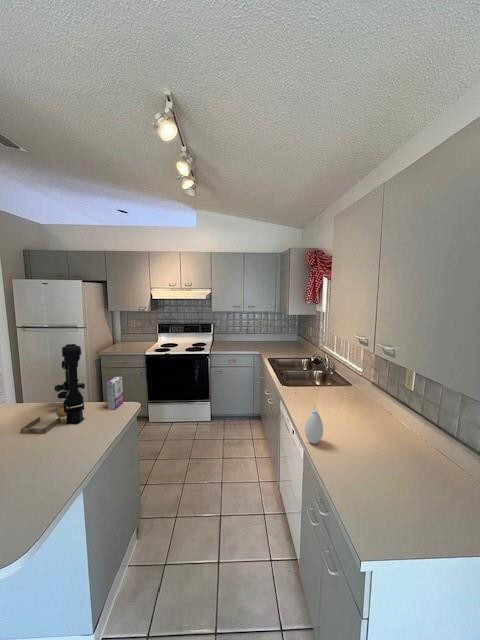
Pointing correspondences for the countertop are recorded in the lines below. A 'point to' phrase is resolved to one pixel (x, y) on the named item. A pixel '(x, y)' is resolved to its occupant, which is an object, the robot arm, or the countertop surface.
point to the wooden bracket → (39, 430)
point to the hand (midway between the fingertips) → (72, 404)
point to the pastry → (62, 412)
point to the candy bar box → (115, 392)
